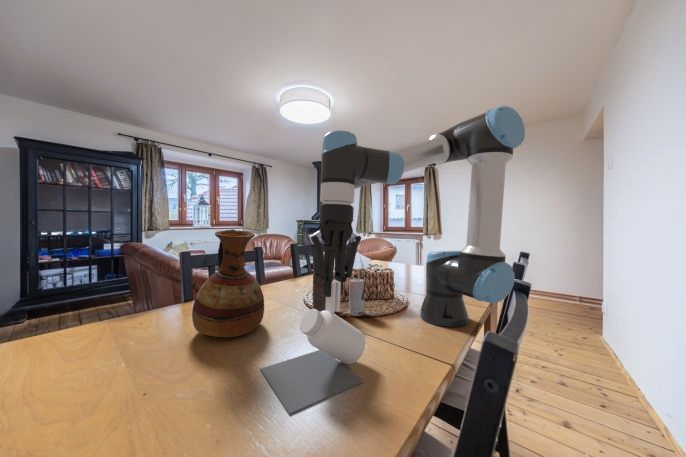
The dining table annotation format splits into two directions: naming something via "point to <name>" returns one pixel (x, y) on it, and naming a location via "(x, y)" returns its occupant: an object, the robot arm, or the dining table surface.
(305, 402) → the mat
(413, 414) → the dining table surface
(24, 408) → the dining table surface
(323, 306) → the candle
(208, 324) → the ceramic pitcher
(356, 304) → the energy drink
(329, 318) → the pill bottle
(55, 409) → the dining table surface
